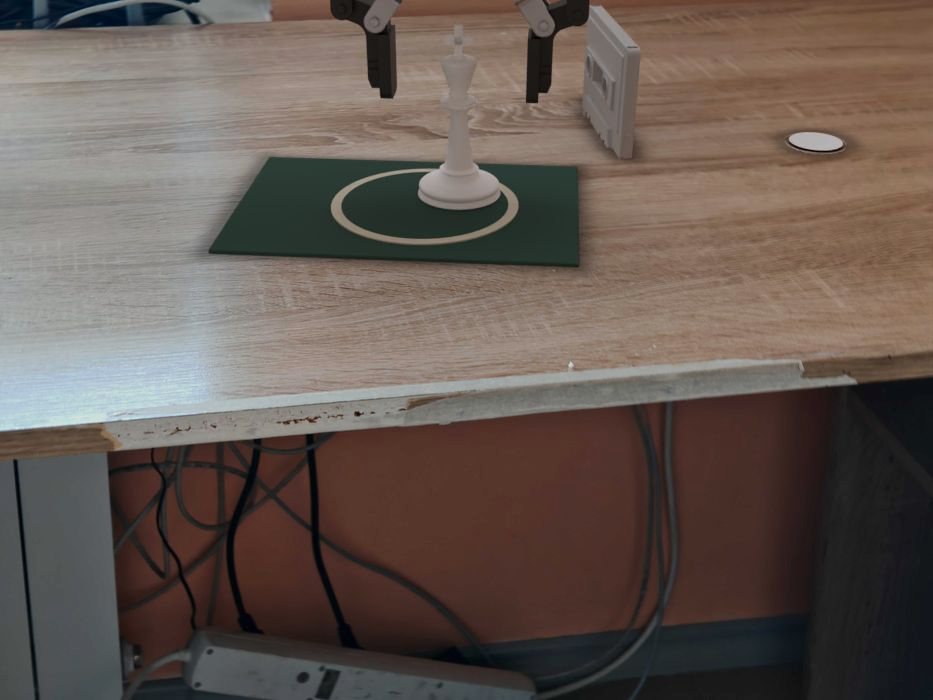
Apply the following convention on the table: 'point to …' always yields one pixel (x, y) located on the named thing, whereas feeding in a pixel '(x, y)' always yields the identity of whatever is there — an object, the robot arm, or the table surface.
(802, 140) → the white rimmed disc
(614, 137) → the cassette
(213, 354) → the table surface
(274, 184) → the desk mat
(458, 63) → the chess piece
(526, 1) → the robot arm
